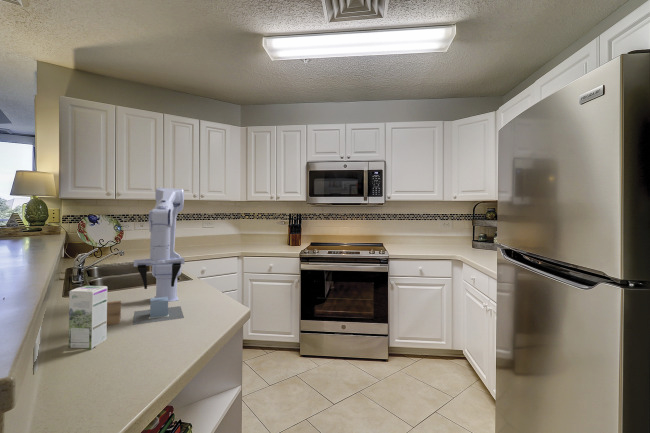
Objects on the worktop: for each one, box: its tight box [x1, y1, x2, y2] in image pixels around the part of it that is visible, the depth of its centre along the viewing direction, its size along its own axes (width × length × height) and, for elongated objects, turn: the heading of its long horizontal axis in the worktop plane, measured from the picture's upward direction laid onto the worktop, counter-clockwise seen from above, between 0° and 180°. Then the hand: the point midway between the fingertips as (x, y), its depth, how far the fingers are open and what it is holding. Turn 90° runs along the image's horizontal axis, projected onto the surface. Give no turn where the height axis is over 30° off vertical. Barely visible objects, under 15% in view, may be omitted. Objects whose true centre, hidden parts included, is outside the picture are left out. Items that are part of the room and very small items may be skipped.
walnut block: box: [107, 300, 122, 326], centre depth 92 cm, size 5×5×6 cm
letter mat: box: [132, 305, 185, 326], centre depth 99 cm, size 14×14×1 cm
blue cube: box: [149, 297, 169, 318], centre depth 99 cm, size 5×5×5 cm
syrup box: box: [68, 285, 108, 350], centre depth 77 cm, size 6×6×14 cm
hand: (159, 287), depth 99 cm, fingers open, 7 cm apart
